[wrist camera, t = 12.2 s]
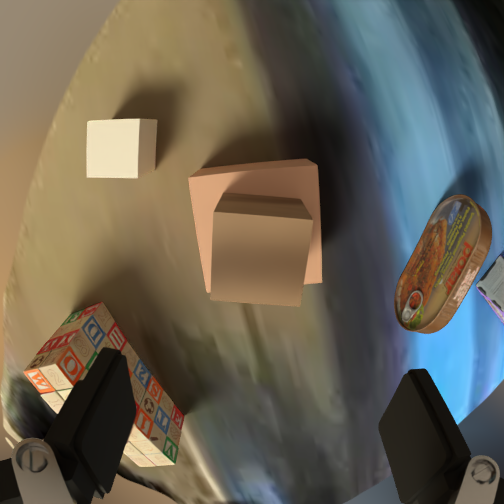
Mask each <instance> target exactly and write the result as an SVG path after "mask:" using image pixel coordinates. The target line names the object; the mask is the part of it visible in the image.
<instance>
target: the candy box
mask: <svg viewBox="0 0 504 504" xmlns="http://www.w3.org/2000/svg"><path fill="white" fill-rule="evenodd" d="M476 288H477V289H478V290H479V292H480V293H481V294H482V296H483V297H484V298H485V300H486V301H487V302H488V304H489V305H490V306H491V308H492V309H493V311H494V312H495V313H496V315H497V316H498V317H499V319H500V320H501V321H502V323H503V324H504V257H503V256H501V255H500V256H499V257H498V259H497V260H496V261H495V262H494V263H493V265H492V266H491V267H490V269H489V270H488V271H487V272H486V273H485V274H484V276H483V277H482V278H481V279H480V280H479V282H478V283H477V284H476Z"/></svg>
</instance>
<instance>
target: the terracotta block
mask: <svg viewBox="0 0 504 504" xmlns="http://www.w3.org/2000/svg"><path fill="white" fill-rule="evenodd" d="M188 180H189V187H190V194H191V201H192V207H193V214H194V220H195V226H196V233H197V239H198V245H199V251H200V257H201V263H202V268H203V274H204V280H205V285H206V291H207V292H211V259H212V233H213V212H214V210H215V208H216V206H217V204H218V202H219V200H220V198H221V196H222V194H223V192H224V193H238V194H251V195H263V196H274V197H285V198H296V199H301V200H302V202H303V204H304V205H305V207H306V209H307V210H308V212H309V214H310V215H311V217H312V219H313V227H312V234H311V241H310V248H309V254H308V261H307V267H306V273H305V279H304V284H312V283H322V255H321V221H320V198H319V179H318V165H316V164H315V163H313V162H311V161H310V160H308V159H293V160H280V161H268V162H257V163H247V164H237V165H228V166H219V167H211V168H203V169H200V170H198V171H197V172H195V173H194V174H193V175H191V176H190V177H189V178H188Z"/></svg>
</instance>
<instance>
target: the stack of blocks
mask: <svg viewBox="0 0 504 504" xmlns="http://www.w3.org/2000/svg"><path fill="white" fill-rule="evenodd" d="M103 347H108V348H113V349H118V350H120V351H121V353H122V355H125V356H126V358H127V364H128V369H129V374H130V379H131V384H132V389H133V394H134V399H135V403H136V409H137V411H136V417H135V420H134V423H133V425H132V428H131V431H130V434H129V437H128V440H127V443H126V446H125V449H124V451H123V453H124V454H125V455H127V456H128V457H129V458H130V459H131V460H133V461H134V462H135V463H136V464H137V465H138V466H140V467H149V466H162V465H175V463H176V458H177V454H178V445H179V440H180V436H181V429H182V425H183V421H184V415H183V414H182V413H181V412H180V411H179V409H178V408H177V407H176V406H175V405H174V402H173V401H172V400H171V399H170V397H169V396H168V395H167V394H166V392H165V391H164V390H163V389H162V387H161V386H160V385H159V383H158V382H157V381H156V379H155V378H154V377H153V375H151V373H150V372H149V371H148V369H147V368H146V366H145V365H144V364H143V362H142V361H141V360H140V359H139V357H138V356H137V354H136V353H135V351H134V350H133V349H132V347H131V346H130V344H129V343H128V341H127V339H126V338H125V336H124V335H123V333H122V332H121V330H120V329H119V327H118V325H117V324H116V322H115V321H114V319H113V317H112V316H111V314H110V313H109V311H108V309H107V308H106V306H105V305H104V303H103V302H100V303H98V304H95V305H92V306H90V307H87V308H86V309H83V310H81V311H78V312H76V313H73V314H71V315H70V316H69V317H68V318H67V319H66V320H65V321H64V323H63V324H62V325H61V326H60V328H59V329H58V330H57V331H56V332H55V333H54V334H53V335H52V337H51V338H50V339H49V340H48V341H47V342H46V343H45V344H44V346H43V347H42V348H41V349H40V351H39V352H38V353H37V354H36V356H35V358H34V359H33V360H32V361H31V363H30V364H29V365H28V366H27V368H26V369H25V370H24V374H25V375H26V376H27V377H28V379H29V380H30V381H31V382H32V384H33V385H34V386H35V387H36V389H37V390H38V391H39V392H40V393H41V396H42V398H43V399H44V400H45V401H46V402H47V403H48V404H49V406H50V407H51V408H52V409H53V410H54V411H55V412H56V413H59V411H60V409H61V407H62V406H63V404H64V402H65V400H66V399H67V397H68V395H69V393H70V392H71V390H72V388H73V386H74V385H75V383H76V382H77V381H78V380H83V379H84V378H85V376H86V374H87V373H88V371H89V369H90V367H91V366H92V364H93V362H94V361H95V359H96V357H97V356H98V354H99V352H100V351H101V349H102V348H103Z"/></svg>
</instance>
